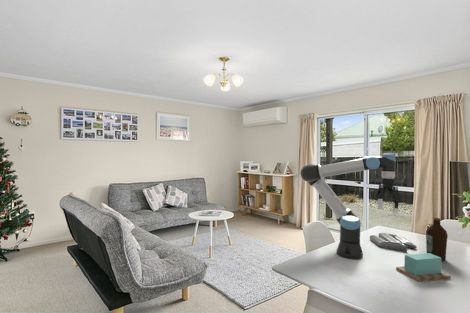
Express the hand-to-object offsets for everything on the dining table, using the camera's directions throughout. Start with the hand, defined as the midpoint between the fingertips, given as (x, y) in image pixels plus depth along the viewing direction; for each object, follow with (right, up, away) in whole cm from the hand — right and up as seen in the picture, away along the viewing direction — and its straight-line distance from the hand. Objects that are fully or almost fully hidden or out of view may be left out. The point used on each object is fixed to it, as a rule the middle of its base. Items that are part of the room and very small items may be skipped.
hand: (387, 210), depth 172 cm
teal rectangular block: (+2, -26, -29) cm, 39 cm away
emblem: (+14, -28, +18) cm, 36 cm away
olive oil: (+26, -28, -7) cm, 39 cm away
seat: (+2, -28, -29) cm, 40 cm away
